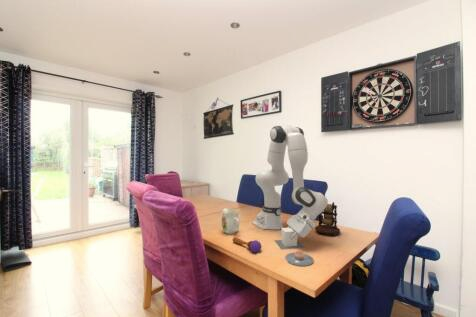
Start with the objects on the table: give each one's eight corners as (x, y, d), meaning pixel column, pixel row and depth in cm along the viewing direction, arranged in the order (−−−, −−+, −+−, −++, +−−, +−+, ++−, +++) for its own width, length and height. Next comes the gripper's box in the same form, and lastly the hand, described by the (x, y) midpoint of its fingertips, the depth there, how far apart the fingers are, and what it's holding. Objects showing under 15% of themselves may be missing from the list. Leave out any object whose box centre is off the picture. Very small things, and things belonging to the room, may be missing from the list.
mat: (274, 241, 133) (274, 240, 133) (295, 240, 135) (295, 239, 135) (281, 250, 120) (281, 249, 120) (305, 249, 122) (305, 248, 122)
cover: (281, 242, 131) (281, 228, 130) (292, 241, 131) (292, 227, 131) (285, 246, 124) (285, 231, 124) (297, 246, 125) (297, 231, 125)
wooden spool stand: (342, 231, 150) (342, 200, 149) (337, 238, 137) (337, 204, 137) (318, 227, 158) (318, 198, 158) (312, 233, 146) (312, 202, 145)
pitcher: (231, 238, 138) (230, 215, 138) (216, 230, 153) (216, 209, 153) (246, 235, 144) (246, 213, 144) (231, 227, 159) (231, 207, 159)
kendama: (239, 234, 134) (264, 241, 119) (238, 245, 133) (263, 253, 118) (231, 234, 131) (255, 241, 115) (230, 245, 130) (254, 254, 114)
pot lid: (279, 258, 111) (279, 252, 111) (297, 251, 119) (297, 245, 119) (301, 269, 101) (301, 262, 101) (319, 261, 108) (319, 254, 108)
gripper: (294, 209, 139) (278, 226, 138) (308, 218, 118) (290, 238, 117) (301, 216, 139) (285, 233, 138) (317, 227, 119) (298, 247, 118)
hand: (287, 236), depth 128 cm, fingers closed on cover, 7 cm apart
